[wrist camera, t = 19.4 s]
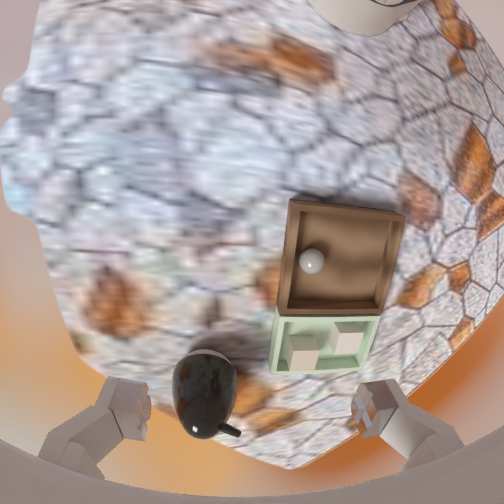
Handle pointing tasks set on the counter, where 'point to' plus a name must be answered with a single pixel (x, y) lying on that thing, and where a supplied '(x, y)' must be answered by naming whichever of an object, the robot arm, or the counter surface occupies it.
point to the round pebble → (311, 261)
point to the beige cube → (301, 352)
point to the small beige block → (345, 337)
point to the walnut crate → (338, 258)
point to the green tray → (319, 341)
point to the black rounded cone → (205, 393)
